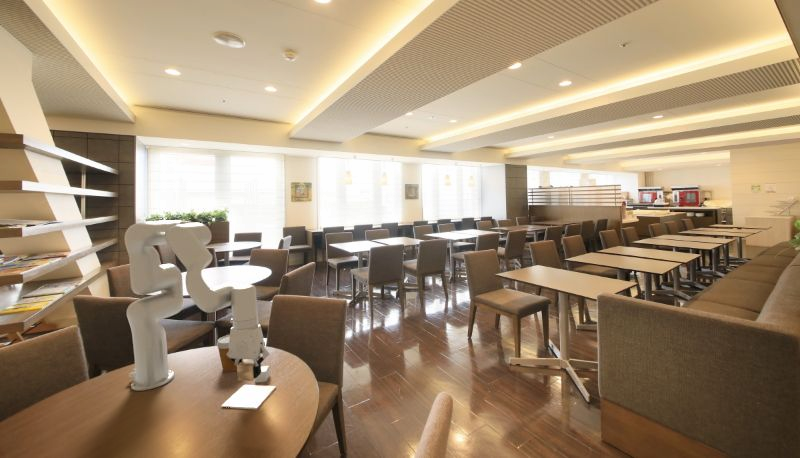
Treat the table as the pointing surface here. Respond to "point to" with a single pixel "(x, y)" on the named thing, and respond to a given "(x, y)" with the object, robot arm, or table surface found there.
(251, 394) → the tray
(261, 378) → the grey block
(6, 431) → the table surface
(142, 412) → the table surface
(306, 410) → the table surface
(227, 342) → the disposable coffee cup
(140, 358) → the robot arm
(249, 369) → the oak cube
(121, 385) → the table surface
